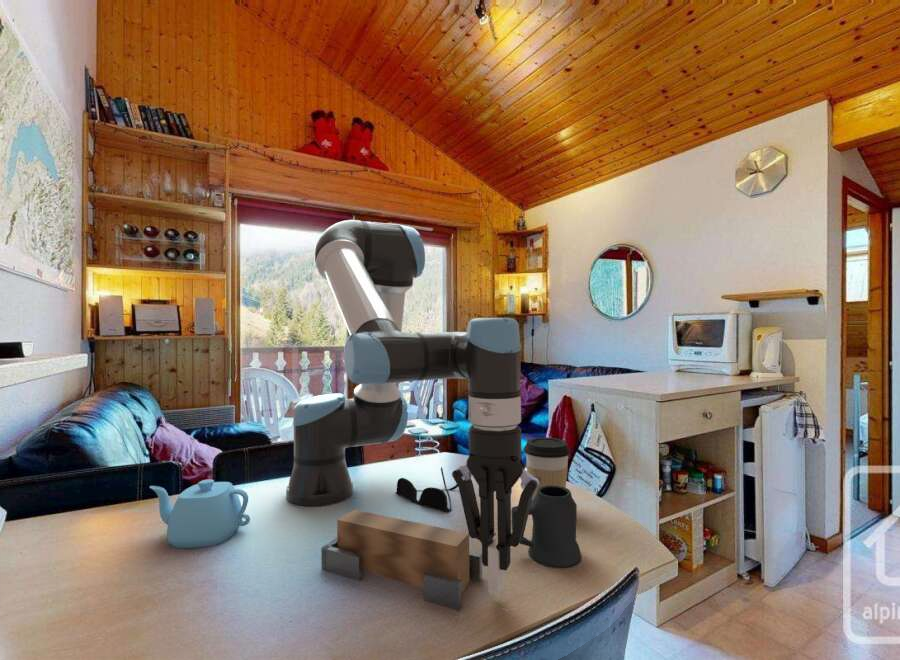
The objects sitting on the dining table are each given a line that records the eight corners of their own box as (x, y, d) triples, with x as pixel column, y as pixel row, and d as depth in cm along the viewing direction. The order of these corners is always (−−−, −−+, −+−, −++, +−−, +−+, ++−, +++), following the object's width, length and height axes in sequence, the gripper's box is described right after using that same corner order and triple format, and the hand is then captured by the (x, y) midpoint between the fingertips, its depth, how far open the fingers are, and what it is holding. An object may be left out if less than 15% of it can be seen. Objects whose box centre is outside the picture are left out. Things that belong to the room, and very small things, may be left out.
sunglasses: (485, 497, 104) (484, 476, 104) (444, 517, 93) (444, 493, 93) (433, 481, 115) (433, 462, 115) (391, 497, 104) (391, 476, 104)
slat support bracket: (321, 572, 72) (321, 547, 72) (355, 547, 80) (355, 525, 80) (359, 583, 69) (358, 557, 69) (390, 556, 77) (390, 533, 77)
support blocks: (423, 602, 64) (423, 574, 64) (450, 571, 72) (450, 546, 72) (458, 612, 62) (458, 584, 62) (482, 579, 70) (481, 553, 70)
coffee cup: (566, 503, 99) (566, 437, 99) (574, 523, 89) (574, 448, 89) (522, 502, 100) (522, 436, 100) (525, 521, 90) (525, 448, 90)
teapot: (166, 472, 90) (259, 468, 92) (166, 525, 90) (259, 520, 92) (129, 496, 77) (237, 490, 79) (130, 557, 77) (238, 550, 79)
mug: (569, 540, 82) (569, 480, 82) (590, 567, 73) (590, 499, 73) (506, 545, 81) (505, 483, 81) (519, 572, 72) (519, 503, 72)
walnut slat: (337, 567, 74) (337, 519, 74) (354, 554, 78) (354, 509, 78) (457, 601, 64) (457, 546, 64) (469, 585, 69) (469, 533, 69)
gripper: (442, 426, 63) (444, 592, 63) (532, 434, 57) (534, 616, 57) (463, 417, 70) (465, 566, 70) (545, 423, 64) (547, 586, 64)
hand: (496, 589), depth 64 cm, fingers closed
